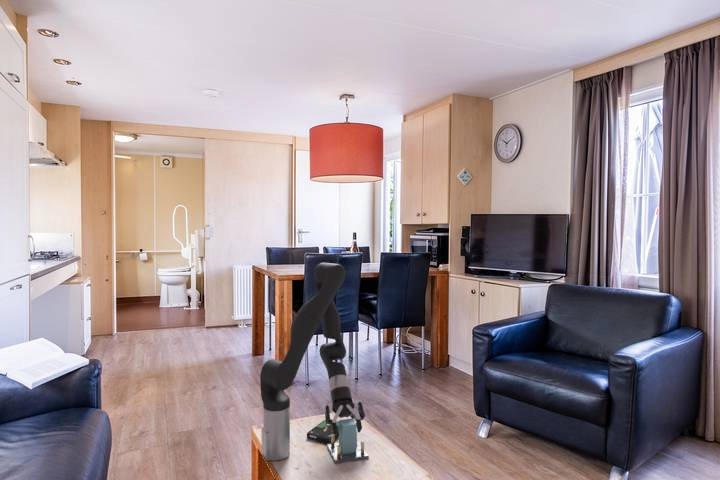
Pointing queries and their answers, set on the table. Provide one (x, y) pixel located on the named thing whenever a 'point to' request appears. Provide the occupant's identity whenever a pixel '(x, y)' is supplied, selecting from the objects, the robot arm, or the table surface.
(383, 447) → the table surface
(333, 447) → the chassis plate
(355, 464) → the table surface
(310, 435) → the disk drive
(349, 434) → the teal block
